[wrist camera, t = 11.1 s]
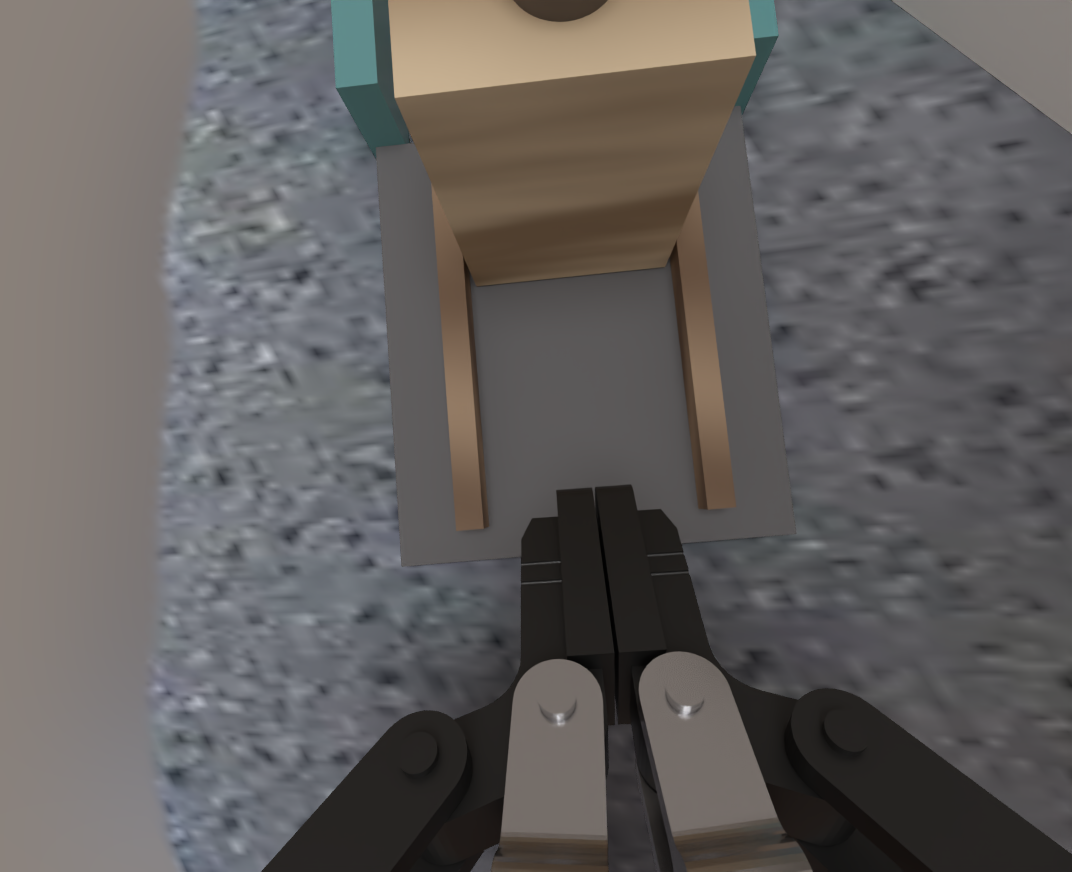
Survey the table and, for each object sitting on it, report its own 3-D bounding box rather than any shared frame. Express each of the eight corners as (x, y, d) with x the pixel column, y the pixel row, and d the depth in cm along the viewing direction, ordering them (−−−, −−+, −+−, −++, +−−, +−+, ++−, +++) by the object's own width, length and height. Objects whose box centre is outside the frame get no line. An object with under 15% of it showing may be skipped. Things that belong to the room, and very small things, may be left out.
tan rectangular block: (665, 266, 19) (787, -19, 8) (476, 286, 19) (366, 33, 9) (651, 147, 19) (752, -267, 9) (467, 168, 19) (351, -211, 9)
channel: (725, 506, 18) (736, 507, 17) (463, 528, 18) (456, 531, 17) (678, 119, 19) (686, 95, 18) (435, 147, 19) (426, 124, 18)
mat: (788, 532, 18) (796, 533, 18) (406, 564, 19) (401, 566, 18) (735, 117, 20) (740, 105, 19) (381, 157, 20) (375, 147, 20)
